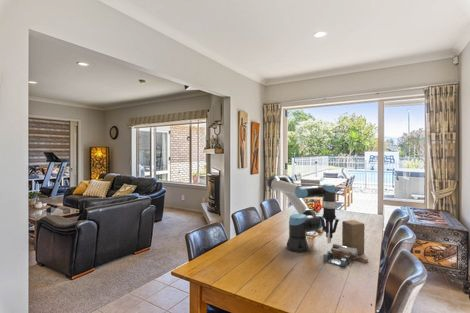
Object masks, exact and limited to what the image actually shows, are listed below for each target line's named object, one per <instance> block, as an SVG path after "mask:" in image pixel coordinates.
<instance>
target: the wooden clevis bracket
mask: <svg viewBox="0 0 470 313" xmlns="http://www.w3.org/2000/svg"><path fill="white" fill-rule="evenodd" d="M330 251H331V252H333V257H335V258H339V259H342V258H344V256H345V255H348V256H350V262H351V261H352V260H353V261H357V262H361V263H364V264H368V263H369V258H368V257H363V256H359V255H357V256H356V257H354V256H351V252H348V251H344V250H340V249H335V248H332V247H331V248H330Z"/></svg>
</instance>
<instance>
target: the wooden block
mask: <svg viewBox="0 0 470 313" xmlns="http://www.w3.org/2000/svg"><path fill="white" fill-rule="evenodd" d="M341 226H342V228H341V229H342V233H341V234H342V235H341V237H342V238H341V239H342V240H341V241H342V244H341V245H343V246H347V247H351V248H356V249H357V255H360V254H365V223H364V222H362V221H361V222H360V221H357V220H354V219H353V220H342V225H341Z"/></svg>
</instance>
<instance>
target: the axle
mask: <svg viewBox="0 0 470 313" xmlns="http://www.w3.org/2000/svg"><path fill="white" fill-rule="evenodd" d="M331 248H335V249H340V250H344V251H348V252H351V256H354V257H356V256H358V254H357V249H356V248H351V247H347V246H343V245H342V244H337V243H333V244H332V246H331Z"/></svg>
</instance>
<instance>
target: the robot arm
mask: <svg viewBox="0 0 470 313" xmlns="http://www.w3.org/2000/svg"><path fill="white" fill-rule="evenodd" d="M294 181H295V180H294V178H293V177H292V176H291V175H289V174H276V175H275V174H274V175H270V176H269V177H268V178H267V180H266V185H267V187H268V189H270V190H272V191H280V193H282V194H285V195H286V198H287V199H288V200H289V202H290V204H291V205H292V206H293V208H294V209H295V210H296V212H297V213H294V214H291V215H290V216H289V219H288V239H287V242H286V249H287V250H288V251H290V252H293V253H294V252H295V253H305V252H308V251H309V248H310V246H309V242H308V240H307V233H310V232H317V231H320V230H321V229H322V230H323V232H325V237H326V239H327V241H326V242H327V244H331V243H332V238H334V237H333V236H334V233H336V230H337V228H338V223H339V222H340V218H337V215H336V186H335V185H334V184H332V183H325V184H323V186H322V185H315V184H314V185H310V186H303V185H299V184H295V182H294ZM309 198H322V201H323V202H322V203H323V209H322V210H323V212H322V213H323V214H322V215H321V214H319V213H316V212H315V211H314V210H313V209H311V208H309V206H308V205H307V204H306V202H305V201H304V199H309Z"/></svg>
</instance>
